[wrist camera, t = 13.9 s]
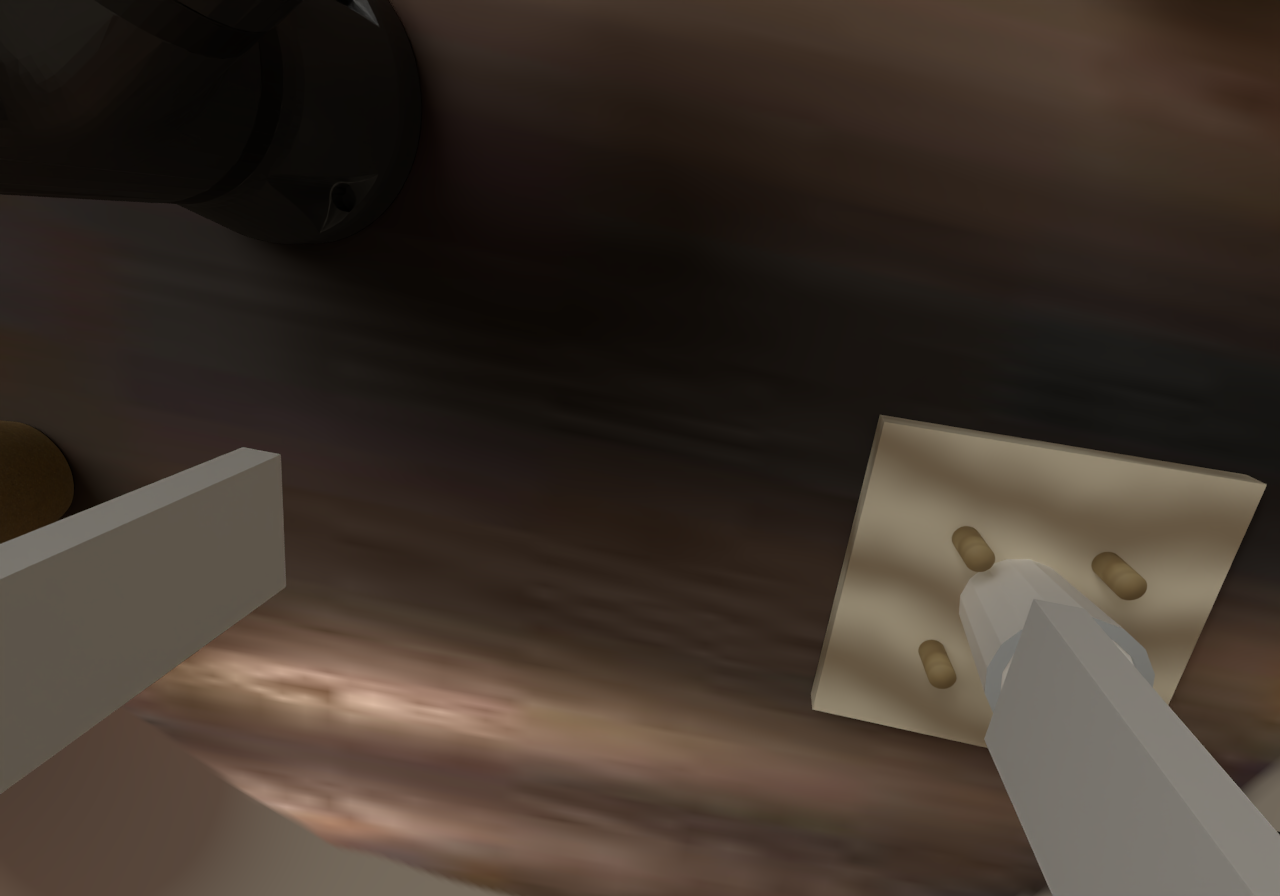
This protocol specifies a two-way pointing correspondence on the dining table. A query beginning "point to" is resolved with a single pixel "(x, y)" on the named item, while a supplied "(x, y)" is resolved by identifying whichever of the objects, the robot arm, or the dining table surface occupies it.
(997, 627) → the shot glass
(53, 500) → the plant pot
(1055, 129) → the dining table surface
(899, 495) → the pin board
